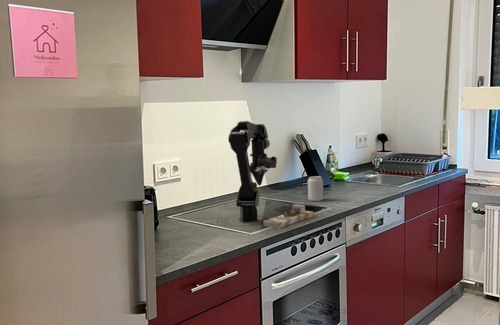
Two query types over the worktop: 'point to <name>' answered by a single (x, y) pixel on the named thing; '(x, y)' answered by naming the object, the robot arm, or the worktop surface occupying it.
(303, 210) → the keeper
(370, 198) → the worktop surface
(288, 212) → the bolt
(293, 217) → the door jamb
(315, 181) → the can
